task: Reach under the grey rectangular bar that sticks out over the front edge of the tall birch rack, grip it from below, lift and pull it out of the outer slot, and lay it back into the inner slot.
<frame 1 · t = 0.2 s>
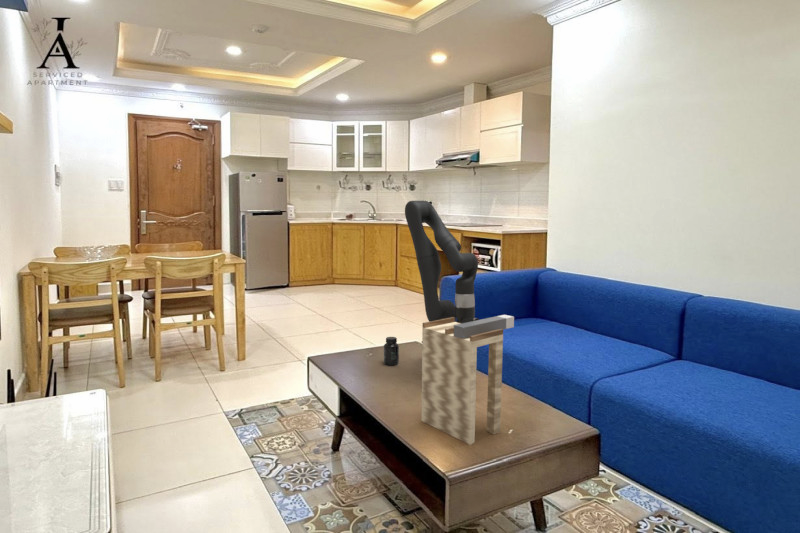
hand: (465, 346, 200), 17 cm above the table, tool pointing down, fingers open, 8 cm apart
supplement bottle: (391, 364, 235), on the table
grey rectangular bar: (484, 331, 166), point 32 cm above the table, touching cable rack
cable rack: (459, 426, 170), on the table
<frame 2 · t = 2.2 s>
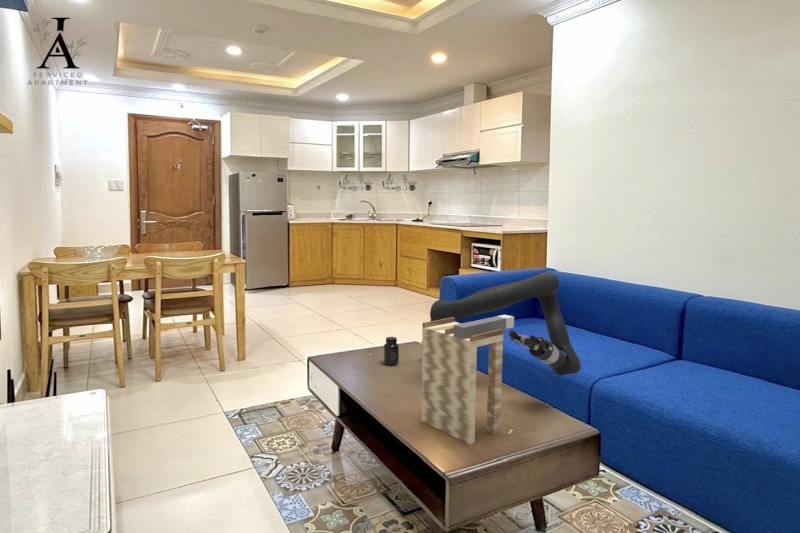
hand: (520, 335, 178), 28 cm above the table, tool pointing upward, fingers open, 8 cm apart
nothing on the table moved.
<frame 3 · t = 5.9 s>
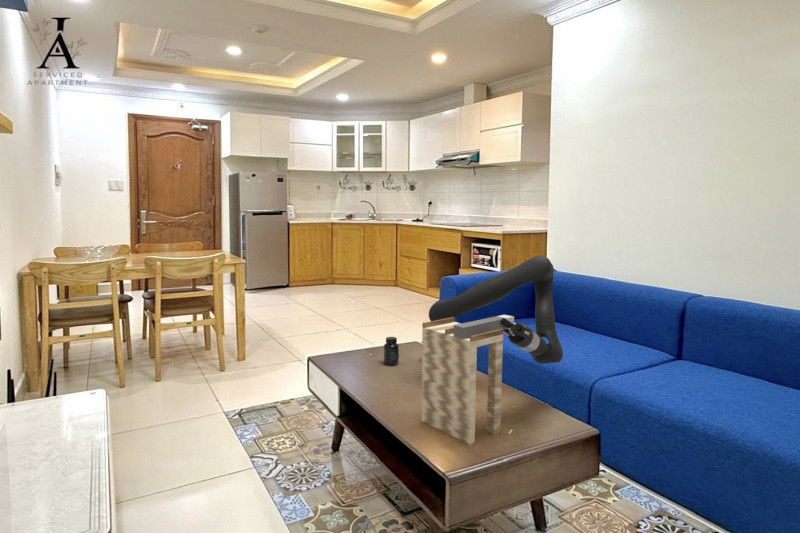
hand: (496, 319, 169), 35 cm above the table, tool pointing upward, fingers closed on grey rectangular bar, 4 cm apart
grey rectangular bar: (484, 331, 166), point 32 cm above the table, touching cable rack, gripper
everything else where it was.
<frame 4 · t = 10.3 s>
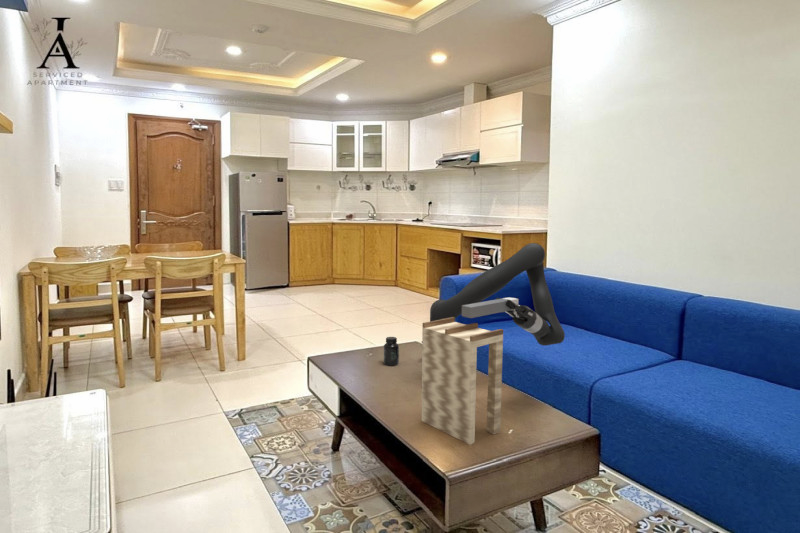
hand: (502, 301, 179), 39 cm above the table, tool pointing upward, fingers closed on grey rectangular bar, 4 cm apart
grey rectangular bar: (490, 312, 176), point 36 cm above the table, touching gripper
everything else where it was.
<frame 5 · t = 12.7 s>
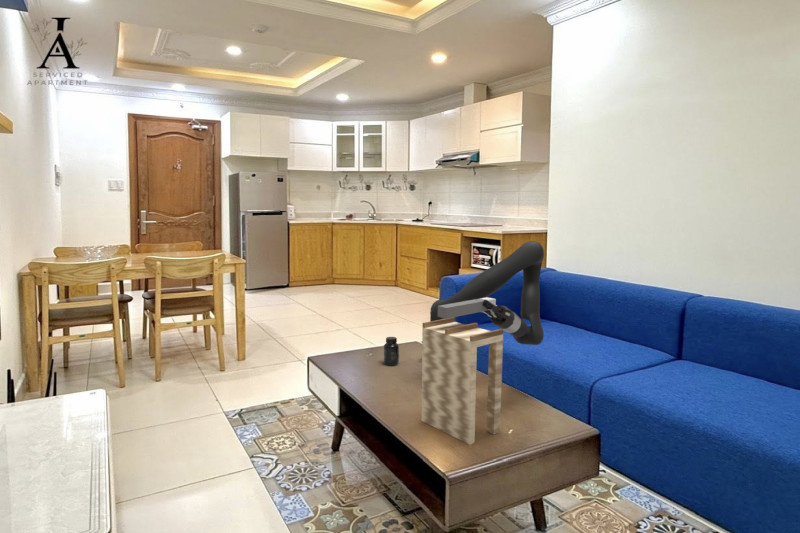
hand: (479, 301, 178), 39 cm above the table, tool pointing upward, fingers closed on grey rectangular bar, 4 cm apart
grey rectangular bar: (467, 312, 175), point 36 cm above the table, touching gripper
everything else where it was.
when the fingers open (36 cm above the table, at t = 14.9 s): grey rectangular bar stays where it is, resting on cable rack.
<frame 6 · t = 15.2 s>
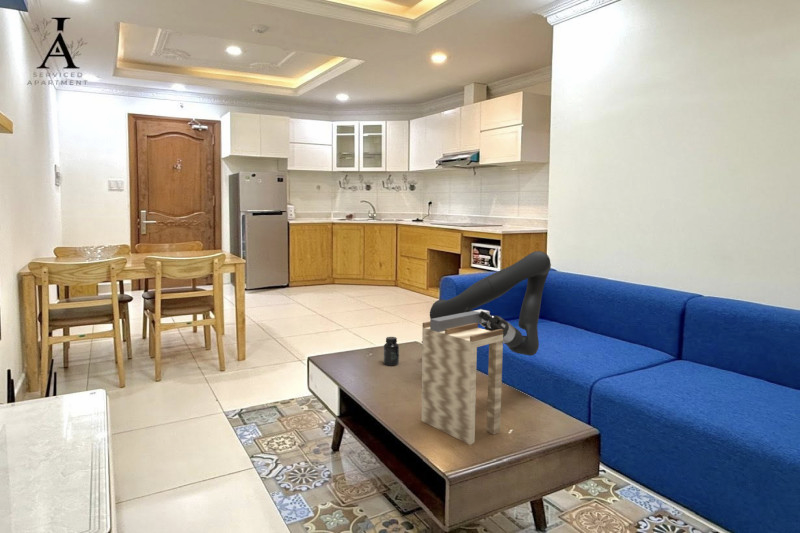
hand: (473, 312, 177), 36 cm above the table, tool pointing upward, fingers open, 6 cm apart
grey rectangular bar: (460, 325, 174), point 32 cm above the table, touching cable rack
everything else where it was.
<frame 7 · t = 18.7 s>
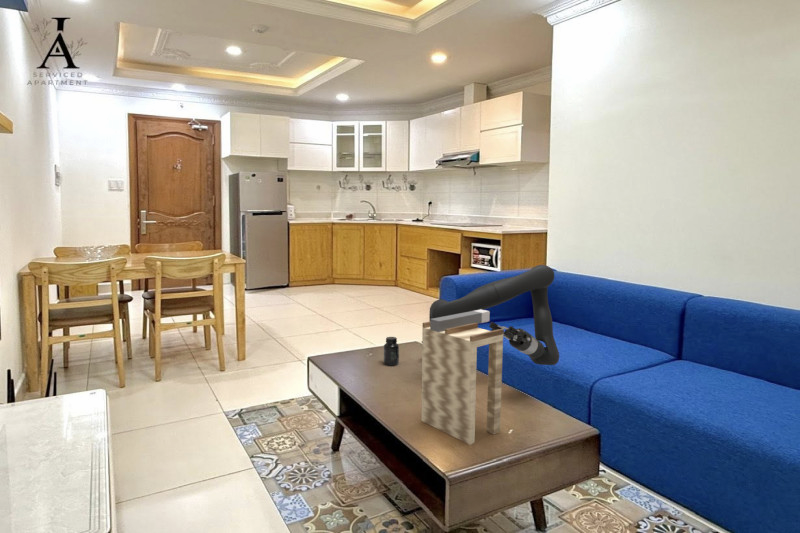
hand: (499, 326, 187), 29 cm above the table, tool pointing upward, fingers open, 8 cm apart
nothing on the table moved.
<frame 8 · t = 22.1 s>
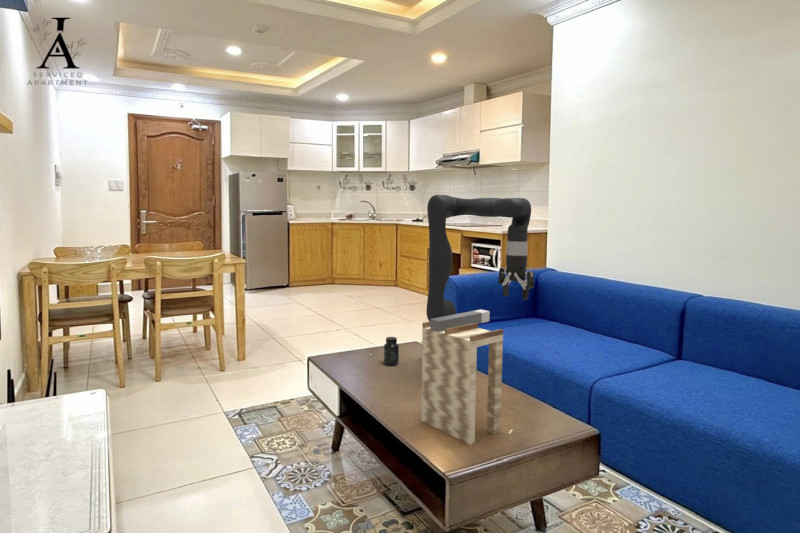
hand: (515, 297, 190), 38 cm above the table, tool pointing down, fingers open, 8 cm apart
nothing on the table moved.
at the end: grey rectangular bar inside the target area on the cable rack (0.0 cm from its centre), point 32.0 cm above the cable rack's base; grey rectangular bar tilted 0°; the gripper is holding nothing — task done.
